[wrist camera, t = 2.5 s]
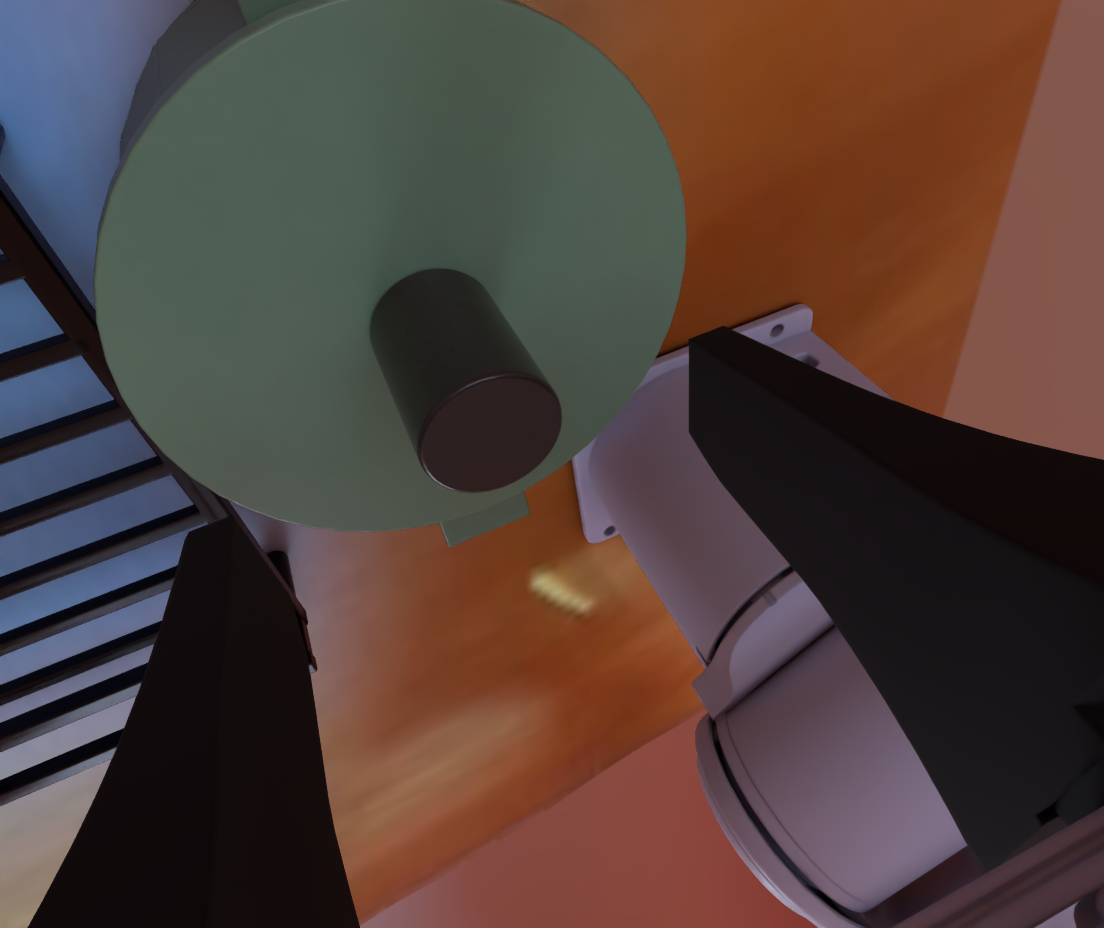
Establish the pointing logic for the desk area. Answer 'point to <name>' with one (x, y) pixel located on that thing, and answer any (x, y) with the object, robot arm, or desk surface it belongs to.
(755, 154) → the desk surface
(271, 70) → the lid
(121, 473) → the rack
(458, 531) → the pot
